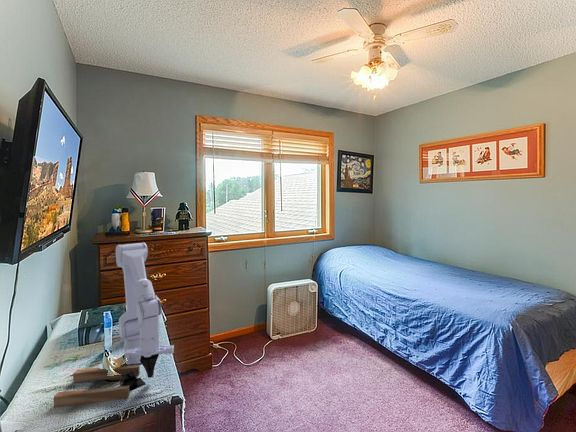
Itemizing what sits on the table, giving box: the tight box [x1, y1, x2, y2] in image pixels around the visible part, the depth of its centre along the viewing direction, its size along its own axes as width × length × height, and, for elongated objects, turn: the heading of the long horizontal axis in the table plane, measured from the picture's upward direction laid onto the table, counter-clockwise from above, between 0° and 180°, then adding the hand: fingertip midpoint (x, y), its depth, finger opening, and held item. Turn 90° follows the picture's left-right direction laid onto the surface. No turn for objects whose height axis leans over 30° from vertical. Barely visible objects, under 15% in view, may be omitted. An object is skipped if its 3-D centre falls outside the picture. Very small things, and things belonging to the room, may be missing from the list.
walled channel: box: [53, 364, 141, 408], centre depth 98 cm, size 14×20×3 cm
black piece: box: [117, 371, 147, 392], centre depth 100 cm, size 12×7×5 cm, turn 137°
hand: (150, 375), depth 102 cm, fingers closed
